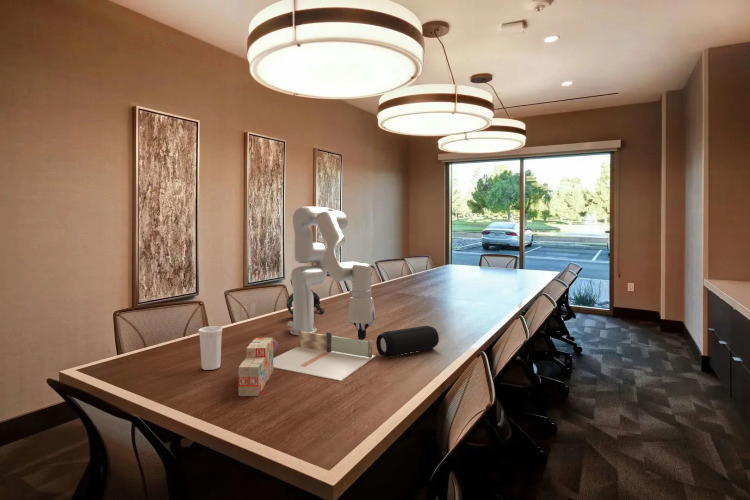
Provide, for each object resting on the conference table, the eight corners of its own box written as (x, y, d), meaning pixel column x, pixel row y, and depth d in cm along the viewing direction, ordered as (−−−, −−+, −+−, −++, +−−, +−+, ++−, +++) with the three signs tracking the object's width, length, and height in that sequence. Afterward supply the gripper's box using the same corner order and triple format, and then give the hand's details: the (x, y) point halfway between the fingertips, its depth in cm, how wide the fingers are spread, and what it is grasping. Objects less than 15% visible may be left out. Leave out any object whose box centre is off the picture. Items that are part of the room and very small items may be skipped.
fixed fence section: (297, 347, 173) (297, 328, 172) (300, 345, 175) (300, 327, 174) (329, 352, 166) (329, 333, 166) (332, 351, 168) (332, 332, 168)
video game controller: (276, 357, 166) (281, 339, 168) (271, 355, 162) (275, 337, 164) (256, 354, 169) (260, 337, 171) (249, 352, 165) (254, 334, 167)
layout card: (260, 365, 152) (260, 364, 152) (303, 344, 177) (303, 343, 177) (341, 381, 138) (341, 380, 138) (375, 356, 163) (375, 355, 163)
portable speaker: (425, 345, 179) (426, 322, 178) (440, 351, 171) (440, 327, 170) (374, 354, 166) (375, 329, 166) (387, 361, 158) (388, 336, 157)
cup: (208, 373, 143) (207, 333, 142) (194, 368, 147) (193, 329, 146) (227, 366, 150) (227, 328, 149) (213, 362, 154) (212, 324, 153)
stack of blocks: (258, 396, 126) (258, 357, 125) (238, 396, 125) (237, 357, 124) (273, 370, 147) (273, 337, 146) (255, 370, 147) (255, 337, 146)
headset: (318, 328, 233) (284, 313, 215) (309, 315, 242) (275, 299, 223) (336, 306, 233) (304, 289, 214) (326, 293, 241) (295, 276, 223)
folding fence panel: (331, 351, 166) (331, 335, 166) (333, 350, 168) (333, 334, 167) (370, 357, 159) (371, 341, 158) (372, 356, 160) (372, 340, 160)
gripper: (341, 294, 166) (341, 339, 167) (374, 297, 160) (374, 343, 161) (349, 291, 173) (349, 334, 174) (382, 294, 166) (382, 338, 168)
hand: (361, 338), depth 167 cm, fingers closed
